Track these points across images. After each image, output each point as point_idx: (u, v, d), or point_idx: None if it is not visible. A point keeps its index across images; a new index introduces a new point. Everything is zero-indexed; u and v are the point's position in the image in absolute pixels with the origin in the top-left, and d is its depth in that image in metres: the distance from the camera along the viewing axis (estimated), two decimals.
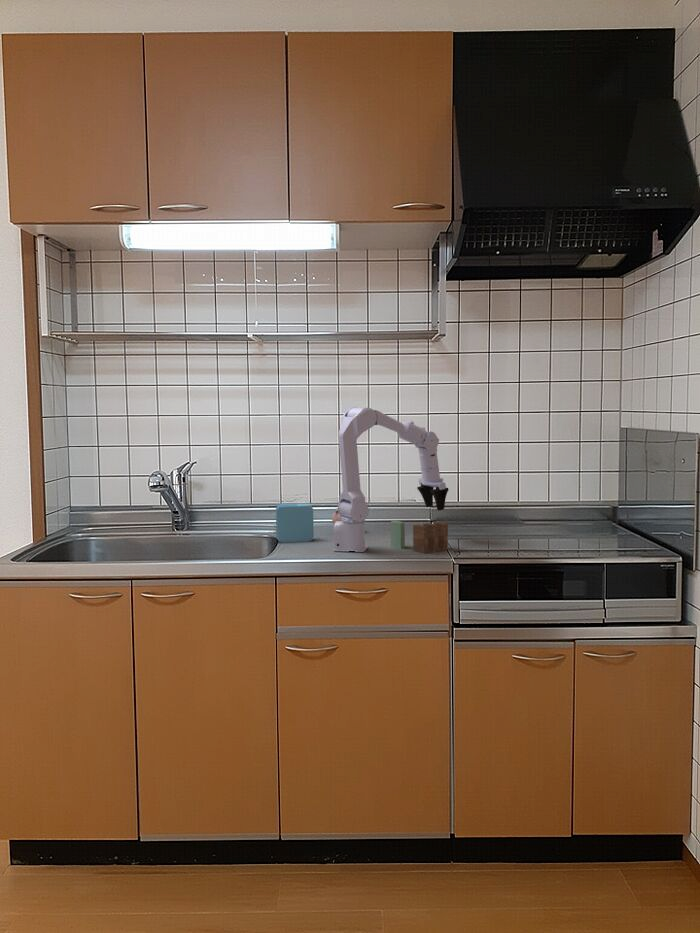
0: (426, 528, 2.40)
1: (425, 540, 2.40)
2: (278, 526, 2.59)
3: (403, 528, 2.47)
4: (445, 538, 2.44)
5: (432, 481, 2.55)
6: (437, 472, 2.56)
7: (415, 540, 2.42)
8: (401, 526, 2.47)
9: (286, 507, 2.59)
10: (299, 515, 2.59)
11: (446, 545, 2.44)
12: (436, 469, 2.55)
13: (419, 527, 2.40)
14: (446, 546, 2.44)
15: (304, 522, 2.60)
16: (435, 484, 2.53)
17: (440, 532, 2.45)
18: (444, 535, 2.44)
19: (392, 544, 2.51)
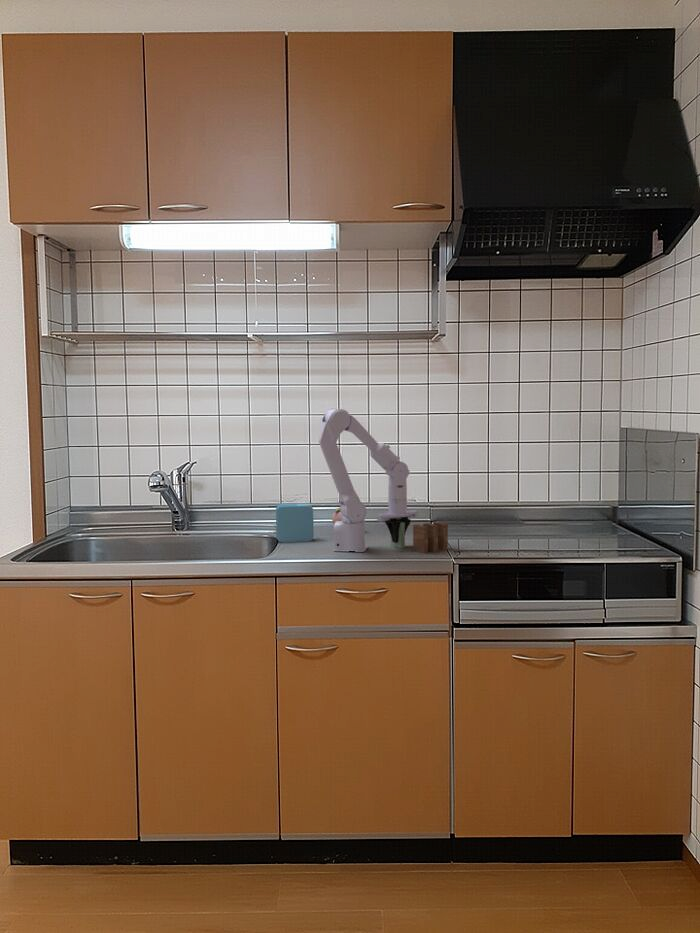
0: (426, 528, 2.40)
1: (425, 540, 2.40)
2: (278, 526, 2.59)
3: (403, 528, 2.47)
4: (445, 538, 2.44)
5: (388, 512, 2.48)
6: (393, 505, 2.46)
7: (415, 540, 2.42)
8: (401, 526, 2.47)
9: (286, 507, 2.59)
10: (299, 515, 2.59)
11: (446, 545, 2.44)
12: (392, 501, 2.46)
13: (419, 527, 2.40)
14: (446, 546, 2.44)
15: (304, 522, 2.60)
16: None
17: (440, 532, 2.45)
18: (444, 535, 2.44)
19: (392, 544, 2.51)
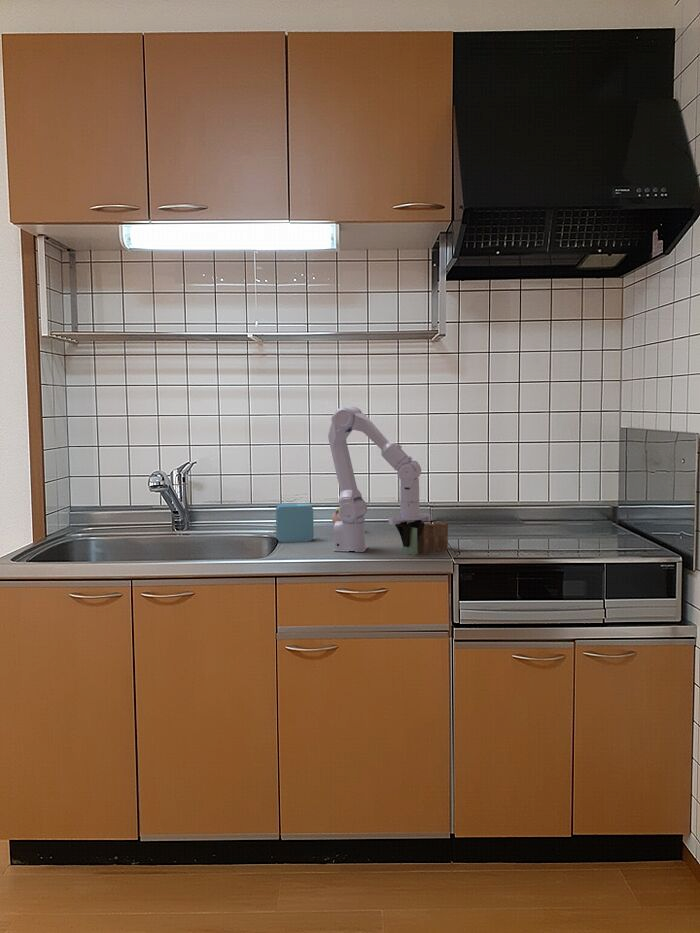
0: (427, 528, 2.40)
1: (425, 540, 2.40)
2: (278, 526, 2.59)
3: (416, 534, 2.37)
4: (445, 538, 2.44)
5: (400, 515, 2.38)
6: (405, 507, 2.36)
7: None
8: (414, 532, 2.37)
9: (286, 507, 2.59)
10: (299, 515, 2.59)
11: (446, 545, 2.44)
12: (404, 504, 2.36)
13: None
14: (446, 546, 2.44)
15: (304, 522, 2.60)
16: None
17: (440, 532, 2.45)
18: (444, 535, 2.44)
19: (404, 551, 2.41)
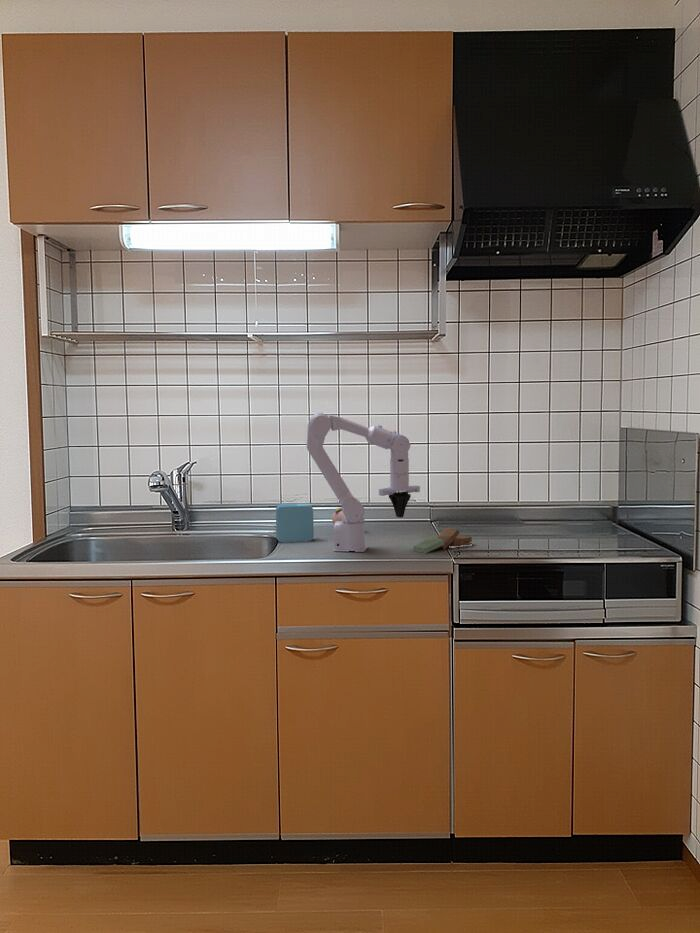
0: (458, 533, 2.48)
1: (450, 539, 2.46)
2: (278, 526, 2.59)
3: (439, 545, 2.43)
4: None
5: (390, 486, 2.45)
6: (395, 479, 2.43)
7: (440, 537, 2.48)
8: (441, 542, 2.43)
9: (286, 507, 2.59)
10: (299, 515, 2.59)
11: None
12: (394, 476, 2.43)
13: (452, 529, 2.49)
14: None
15: (304, 522, 2.60)
16: None
17: None
18: None
19: (416, 545, 2.43)
